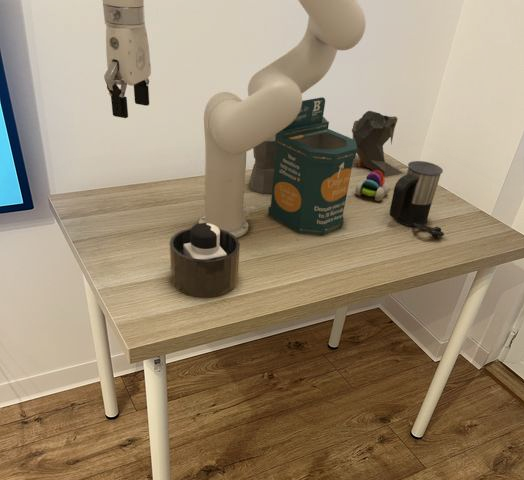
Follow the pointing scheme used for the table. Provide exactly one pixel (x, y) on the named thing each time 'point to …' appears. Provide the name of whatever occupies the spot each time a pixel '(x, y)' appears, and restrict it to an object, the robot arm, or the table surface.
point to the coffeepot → (263, 166)
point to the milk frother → (416, 196)
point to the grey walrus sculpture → (374, 141)
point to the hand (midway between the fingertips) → (131, 110)
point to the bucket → (204, 267)
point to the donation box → (311, 172)
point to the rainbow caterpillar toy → (373, 186)
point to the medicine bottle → (204, 242)
